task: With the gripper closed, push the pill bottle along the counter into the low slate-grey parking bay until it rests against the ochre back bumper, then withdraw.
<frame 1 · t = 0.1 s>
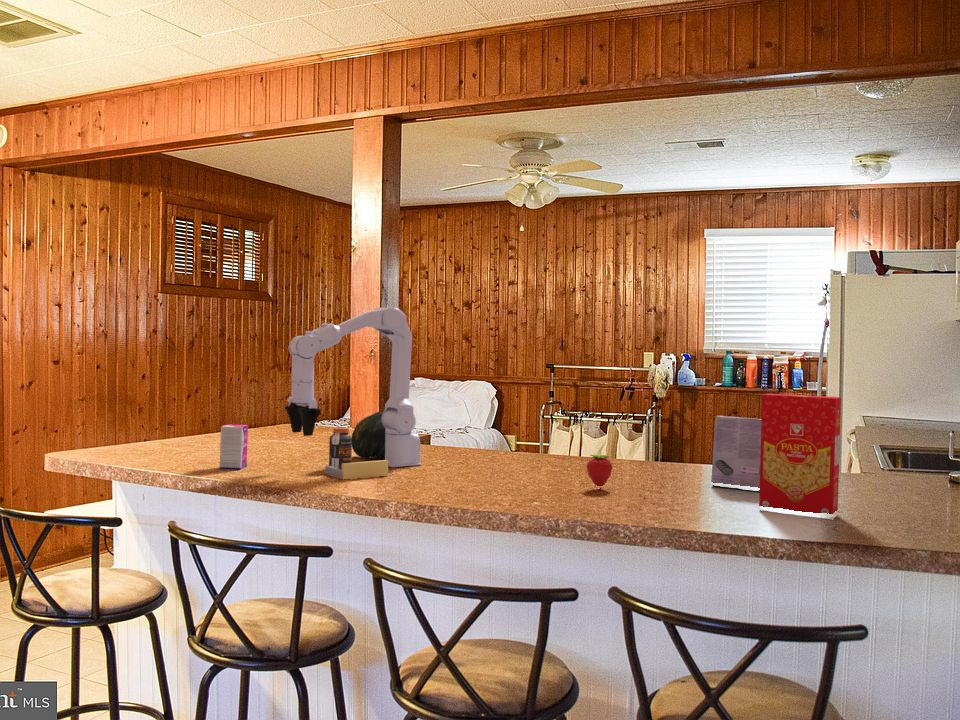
hand: (302, 433, 211), 10 cm above the counter, fingers open, 7 cm apart
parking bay: (354, 474, 210), on the counter
strawberry: (598, 490, 195), on the counter
pill bottle: (340, 469, 217), on the counter
food packaging: (797, 514, 172), on the counter
supplement box: (233, 468, 216), on the counter
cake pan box: (752, 490, 198), on the counter
squash: (378, 458, 238), on the counter
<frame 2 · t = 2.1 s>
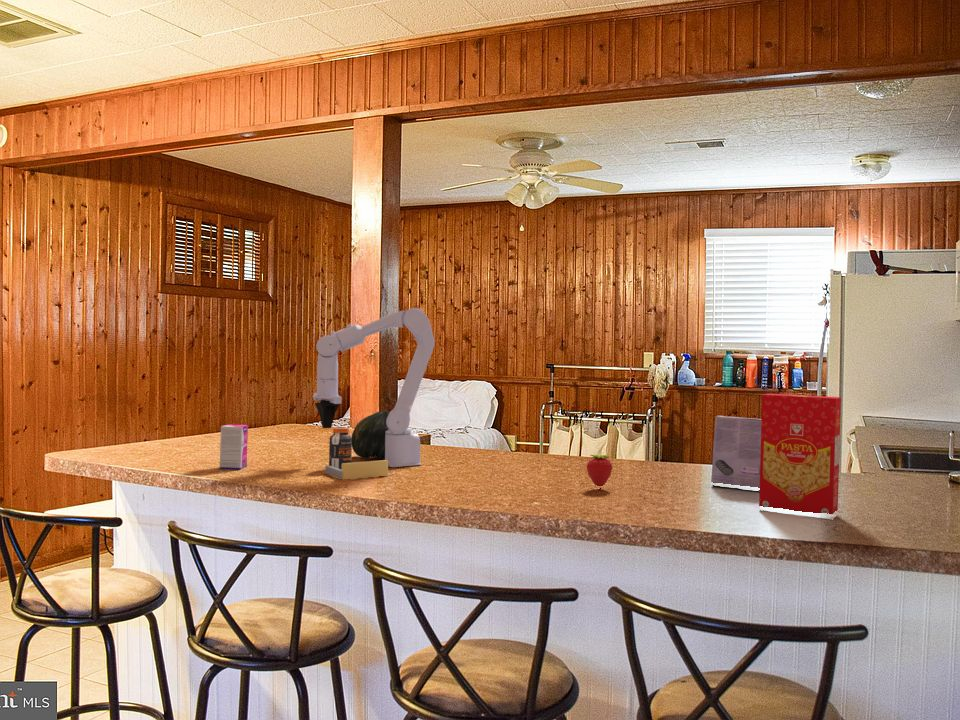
hand: (326, 427, 225), 10 cm above the counter, fingers closed
nothing on the counter moved.
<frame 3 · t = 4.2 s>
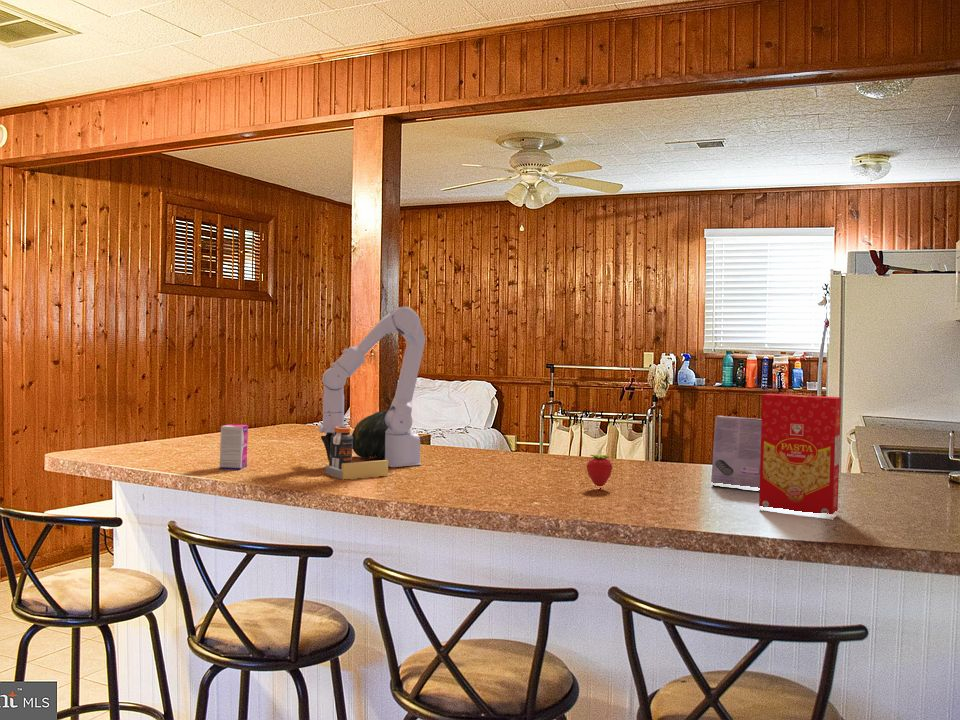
hand: (332, 461, 221), 1 cm above the counter, fingers closed
pill bottle: (340, 468, 217), on the counter, touching gripper
everything else where it was.
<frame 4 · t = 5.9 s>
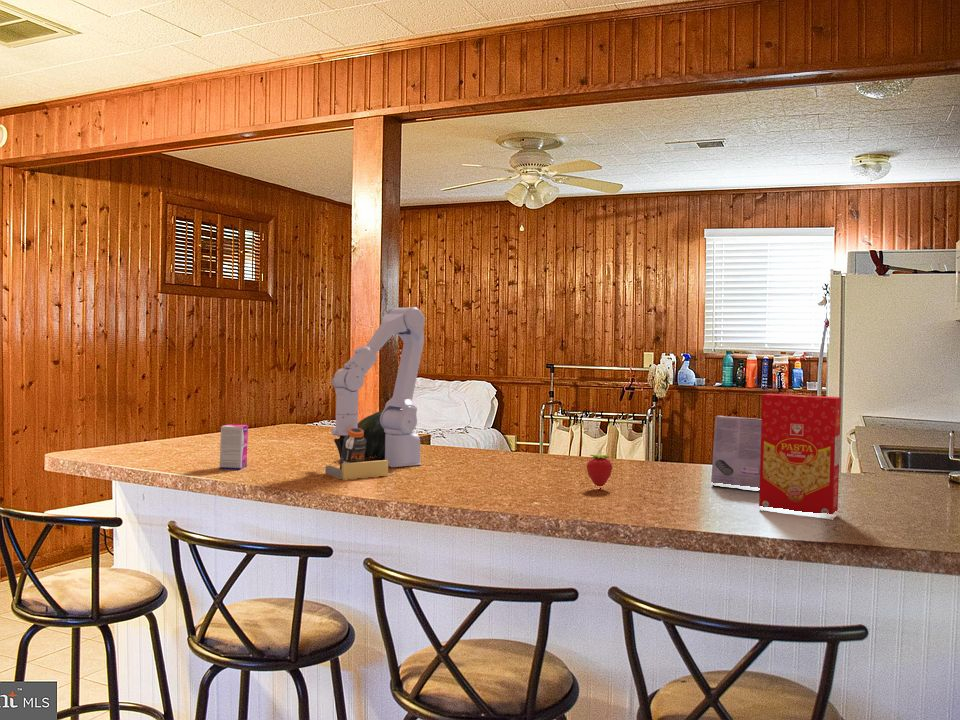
hand: (345, 465, 214), 2 cm above the counter, fingers closed, pressing on pill bottle
pill bottle: (350, 470, 211), point 1 cm above the counter, touching gripper
everything else where it was.
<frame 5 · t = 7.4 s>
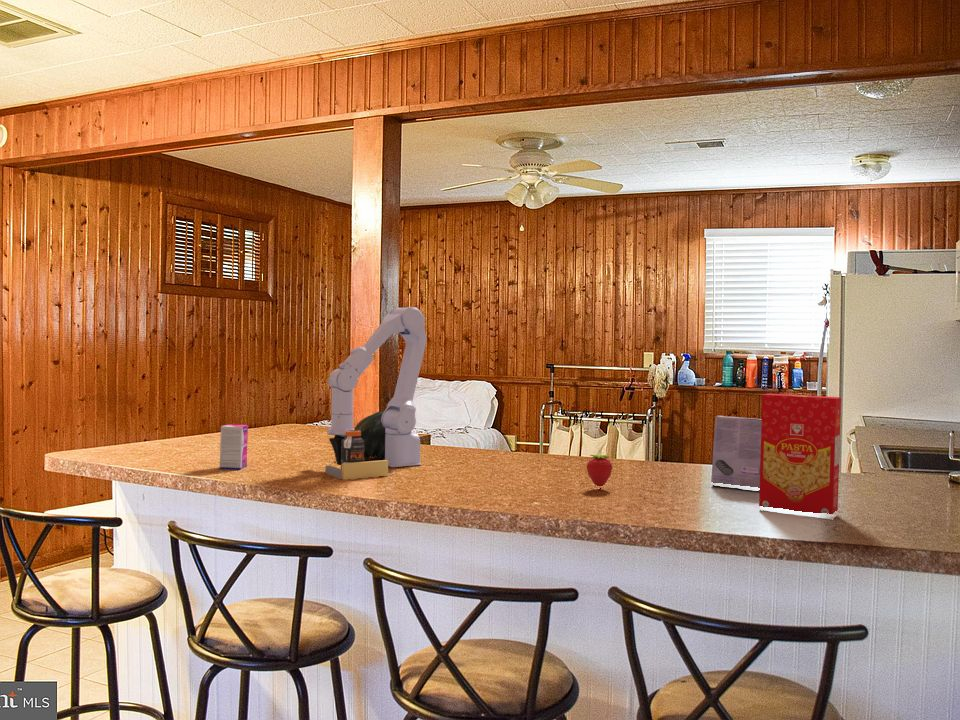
hand: (341, 464, 217), 1 cm above the counter, fingers closed
pill bottle: (352, 474, 211), on the counter
everything else where it was.
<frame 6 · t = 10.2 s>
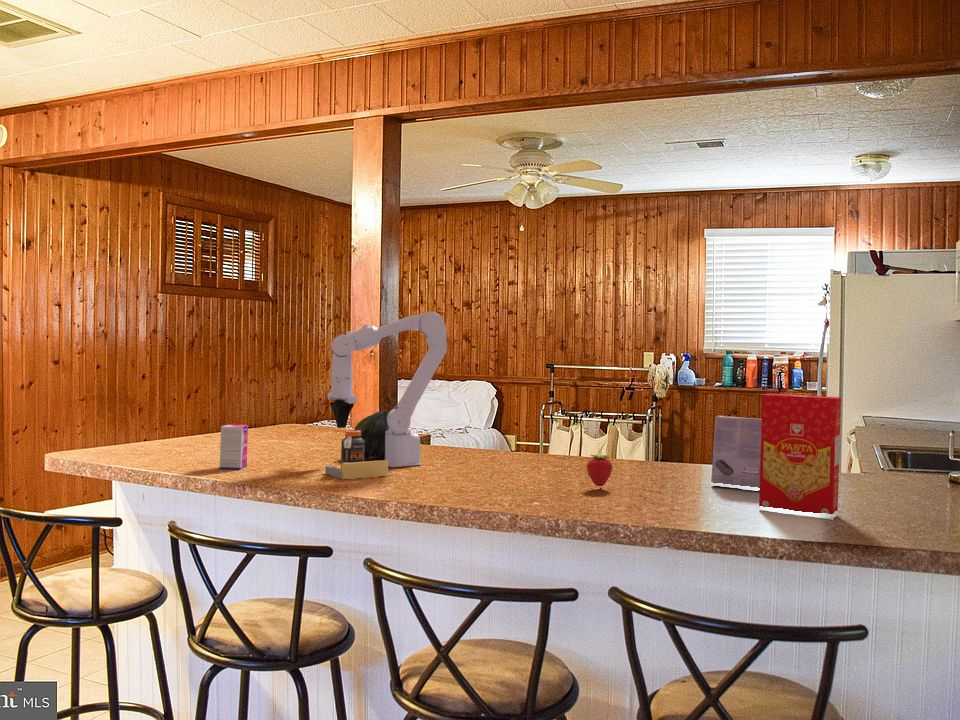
hand: (341, 427, 224), 10 cm above the counter, fingers closed
nothing on the counter moved.
at the end: pill bottle inside the target area on the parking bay (2.7 cm from its centre), point 0.0 cm above the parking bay's base; pill bottle tilted 0° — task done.
